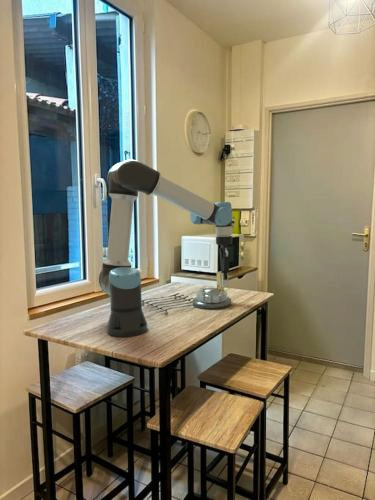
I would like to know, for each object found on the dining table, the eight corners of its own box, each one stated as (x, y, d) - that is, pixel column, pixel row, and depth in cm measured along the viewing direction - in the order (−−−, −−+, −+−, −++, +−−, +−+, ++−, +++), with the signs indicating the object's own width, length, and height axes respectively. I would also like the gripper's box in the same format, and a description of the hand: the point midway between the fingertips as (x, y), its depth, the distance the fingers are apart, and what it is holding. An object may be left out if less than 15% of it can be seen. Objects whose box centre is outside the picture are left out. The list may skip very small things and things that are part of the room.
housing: (201, 311, 168) (201, 295, 168) (187, 301, 185) (186, 287, 184) (238, 306, 175) (238, 291, 174) (220, 297, 191) (220, 283, 191)
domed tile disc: (233, 298, 179) (233, 274, 178) (212, 304, 170) (211, 278, 168) (211, 293, 190) (211, 270, 188) (190, 299, 180) (190, 274, 179)
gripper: (235, 236, 171) (236, 288, 173) (229, 234, 183) (230, 283, 186) (218, 237, 170) (219, 289, 173) (213, 235, 183) (215, 283, 185)
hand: (225, 286), depth 179 cm, fingers closed
